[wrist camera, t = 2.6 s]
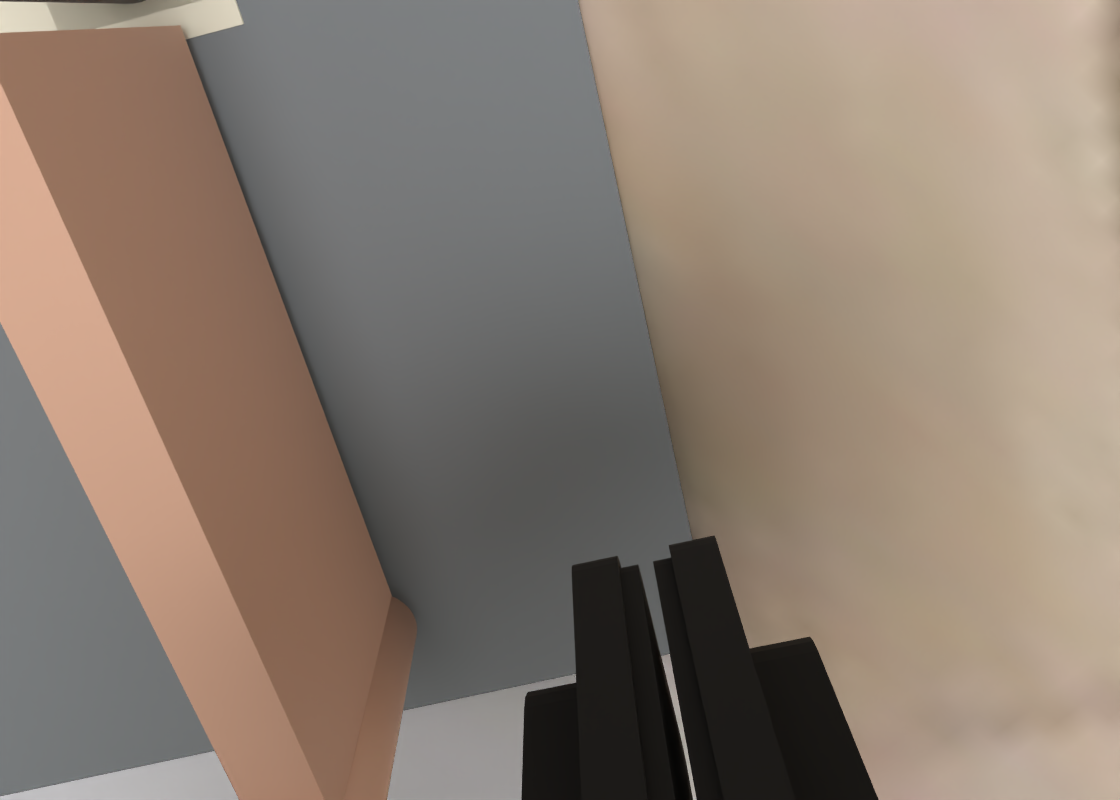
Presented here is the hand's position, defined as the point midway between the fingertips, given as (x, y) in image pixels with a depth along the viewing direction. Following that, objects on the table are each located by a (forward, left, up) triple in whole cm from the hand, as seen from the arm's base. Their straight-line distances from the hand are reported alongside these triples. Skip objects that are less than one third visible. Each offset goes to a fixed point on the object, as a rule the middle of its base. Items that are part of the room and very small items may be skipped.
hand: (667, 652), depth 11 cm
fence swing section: (+2, +6, -8) cm, 10 cm away
